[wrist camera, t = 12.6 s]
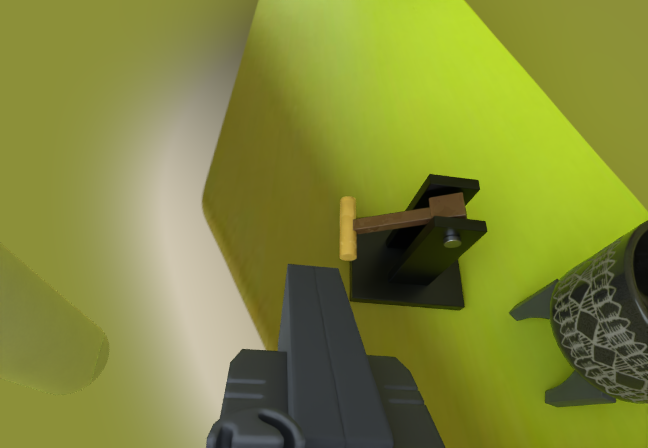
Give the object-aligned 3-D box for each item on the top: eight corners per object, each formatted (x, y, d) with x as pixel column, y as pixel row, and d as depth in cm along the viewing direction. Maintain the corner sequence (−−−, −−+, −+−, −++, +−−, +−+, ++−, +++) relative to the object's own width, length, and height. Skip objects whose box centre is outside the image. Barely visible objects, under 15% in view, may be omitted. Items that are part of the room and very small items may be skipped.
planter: (471, 341, 44) (594, 281, 28) (537, 270, 49) (670, 186, 34) (572, 447, 40) (775, 444, 25) (631, 358, 46) (827, 309, 30)
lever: (344, 263, 39) (335, 253, 37) (344, 207, 42) (336, 195, 40) (471, 248, 35) (469, 235, 33) (462, 187, 38) (459, 173, 36)
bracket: (349, 301, 44) (389, 244, 32) (349, 224, 48) (384, 148, 36) (459, 310, 45) (537, 259, 33) (450, 235, 49) (515, 166, 38)
